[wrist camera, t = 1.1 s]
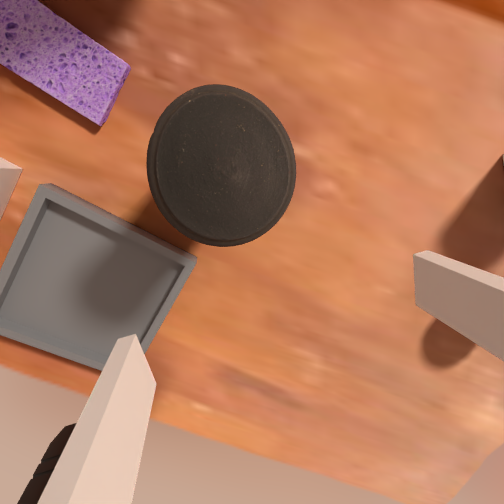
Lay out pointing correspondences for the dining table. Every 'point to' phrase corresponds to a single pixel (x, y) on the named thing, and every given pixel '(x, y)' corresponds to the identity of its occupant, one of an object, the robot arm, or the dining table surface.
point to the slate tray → (86, 279)
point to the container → (220, 166)
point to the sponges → (60, 58)
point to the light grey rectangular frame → (7, 182)
